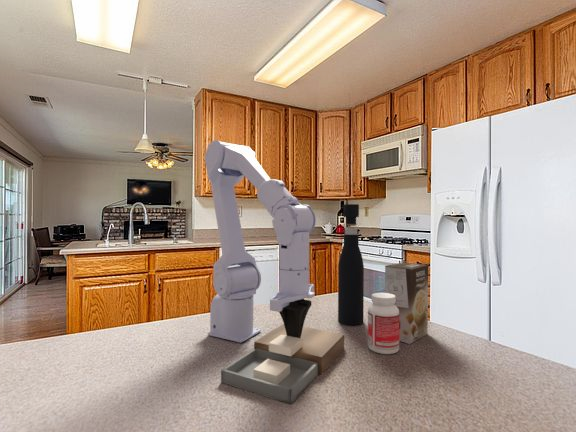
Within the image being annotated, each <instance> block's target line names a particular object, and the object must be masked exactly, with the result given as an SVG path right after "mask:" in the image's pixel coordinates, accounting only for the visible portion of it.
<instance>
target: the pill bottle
mask: <svg viewBox="0 0 576 432" xmlns="http://www.w3.org/2000/svg"><path fill="white" fill-rule="evenodd" d="M371 302H372V303H371V304H369V306H368V308H367V345H368V348H369V349H370V350H371V351H373V352H374V353H377V354H381V355H392V354H393V355H394V354H395V353H397V352H398V351H399V350H400V341H399V309H398V308H397V307H396V306H395V305H394V304H395V302H396V297H395V295H393V294H390V293H385V292H374V293H372V294H371Z"/></svg>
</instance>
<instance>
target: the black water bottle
mask: <svg viewBox="0 0 576 432" xmlns="http://www.w3.org/2000/svg"><path fill="white" fill-rule="evenodd" d="M343 217H344V218H346V220H345V225H346V227H344V234H343V246H342V248H341V252H340V255H339V259H338V266H337V267H338V268H337V272H338V273H337V274H338V276H337V278H338V279H337V280H338V282H337V284H338V285H337V292H338V293H337V294H338V295H337V297H338V298H337V322H338V323H339V324H341V325H344V326H349V327H351V326H352V327H353V326H354V327H355V326H356V325H357V326H361V325H363V324H364V309H365V308H364V297H365V296H364V292H365V291H364V284H365V283H364V282H365V281H364V280H365V278H364V277H365V267H364V266H365V265H364V260H363V256H362V252H361V249H360V246H359V243H360V242H359V234H358V227H357V218H359V217H360V205H359V204H358V203H357V204H356V203H350V204H349V203H348V204H347V203H346V204H343ZM355 226H356V227H355ZM357 326H356V327H357Z"/></svg>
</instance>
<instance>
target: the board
mask: <svg viewBox="0 0 576 432" xmlns="http://www.w3.org/2000/svg"><path fill="white" fill-rule="evenodd" d="M280 335H286V336H287V334H286V330H285V326H284V323H282V324H280V325H279V326H277V327H275V328H274V329H272V330H271V331H269V332H268V333H266V334H264V335H263V336H262V337H259V338H257V339H256V340H255V341H253V349H255V348H258V349H262V350H266V351H269V342H271V341H272V340H274V339H275V338H277V337H278V336H280ZM301 339H302V348H300V349H299V350H298V351H297V352H296V353H295V354H293V355H292V356H291V357H295V358H300V359H304V360H308V361H312V362H316V363H318V375H323V374H324V372H326V370H327V369H328V368H329V367H330V365H332V363H333V362H334V361H335V360H336V359H337V357H338V356H339V355H340V354H341V353H342V352H343V351H344V350H345V334H344V333H340V332H339V333H338V332H334V331H329V330H322V329H317V328H311V327H308V326H307V327H306V326H303V329H302V334H301Z"/></svg>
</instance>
